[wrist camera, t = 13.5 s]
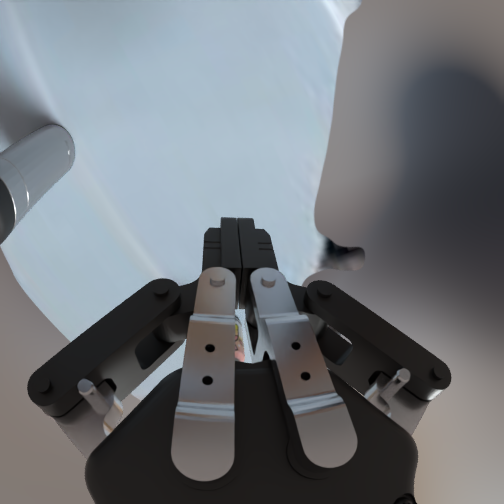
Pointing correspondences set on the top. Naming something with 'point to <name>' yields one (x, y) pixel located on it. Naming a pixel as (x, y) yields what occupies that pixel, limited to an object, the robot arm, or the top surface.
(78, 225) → the top surface
